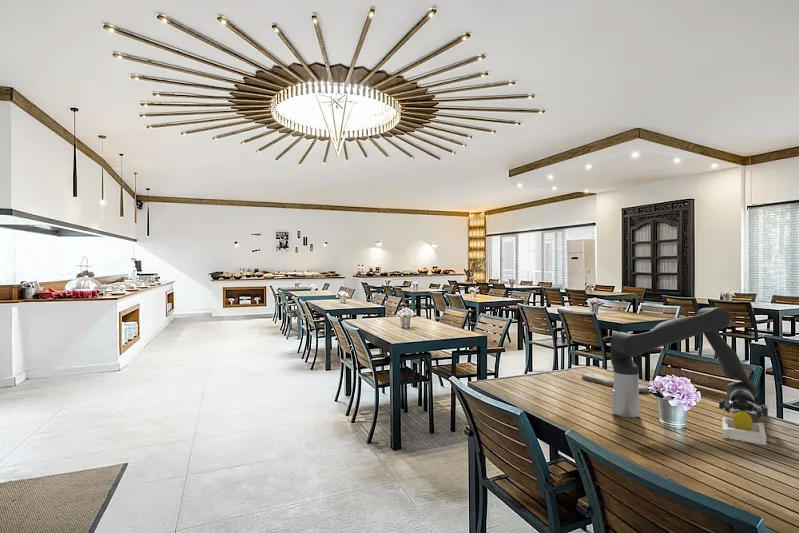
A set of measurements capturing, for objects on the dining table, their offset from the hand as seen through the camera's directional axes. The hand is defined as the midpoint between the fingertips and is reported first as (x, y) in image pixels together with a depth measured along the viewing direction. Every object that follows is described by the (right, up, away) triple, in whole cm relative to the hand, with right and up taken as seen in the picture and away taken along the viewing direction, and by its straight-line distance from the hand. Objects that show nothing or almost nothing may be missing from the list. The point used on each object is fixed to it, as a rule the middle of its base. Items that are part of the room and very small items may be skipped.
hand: (743, 412), depth 161 cm
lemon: (0, -8, 0) cm, 8 cm away
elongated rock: (-15, -8, +65) cm, 67 cm away
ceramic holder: (0, -8, 0) cm, 8 cm away
